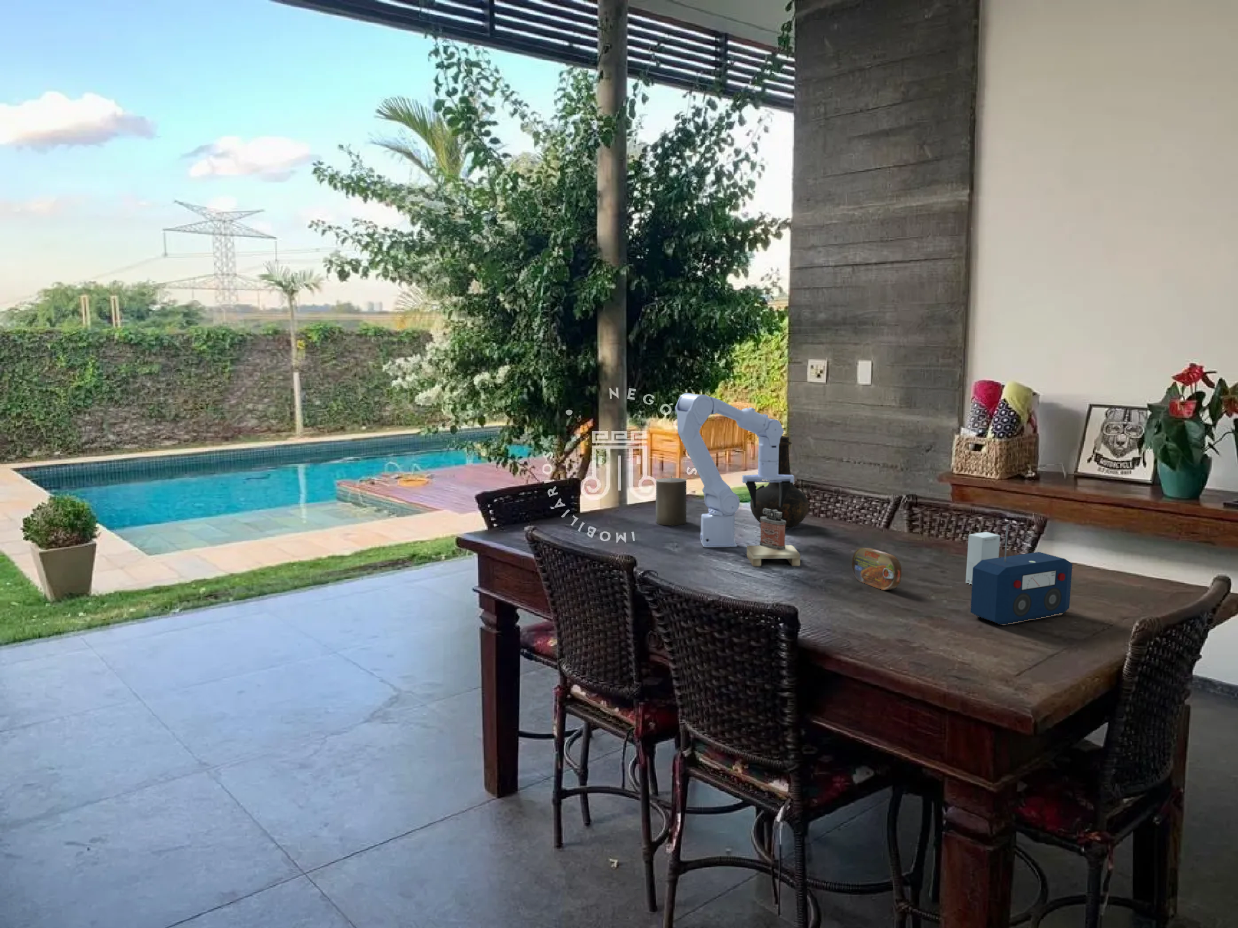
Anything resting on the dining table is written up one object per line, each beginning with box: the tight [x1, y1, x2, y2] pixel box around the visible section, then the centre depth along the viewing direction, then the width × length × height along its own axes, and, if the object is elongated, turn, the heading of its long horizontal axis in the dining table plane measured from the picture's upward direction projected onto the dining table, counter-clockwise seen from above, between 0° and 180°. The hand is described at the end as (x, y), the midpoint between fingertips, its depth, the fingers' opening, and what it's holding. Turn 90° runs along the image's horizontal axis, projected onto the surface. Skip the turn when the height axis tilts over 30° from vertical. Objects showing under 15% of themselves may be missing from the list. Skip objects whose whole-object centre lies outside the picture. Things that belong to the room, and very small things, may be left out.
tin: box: [851, 547, 903, 591], centre depth 206 cm, size 15×3×8 cm, turn 23°
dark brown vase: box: [749, 435, 810, 529], centre depth 270 cm, size 18×18×28 cm
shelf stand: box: [746, 544, 801, 567], centre depth 229 cm, size 12×10×3 cm
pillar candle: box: [655, 475, 687, 527], centre depth 276 cm, size 10×10×15 cm
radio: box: [970, 524, 1073, 625], centre depth 182 cm, size 21×9×20 cm, turn 114°
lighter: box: [759, 508, 786, 550], centre depth 231 cm, size 8×3×10 cm, turn 37°
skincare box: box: [965, 531, 1001, 585], centre depth 206 cm, size 6×4×12 cm
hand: (767, 507), depth 252 cm, fingers open, 7 cm apart
